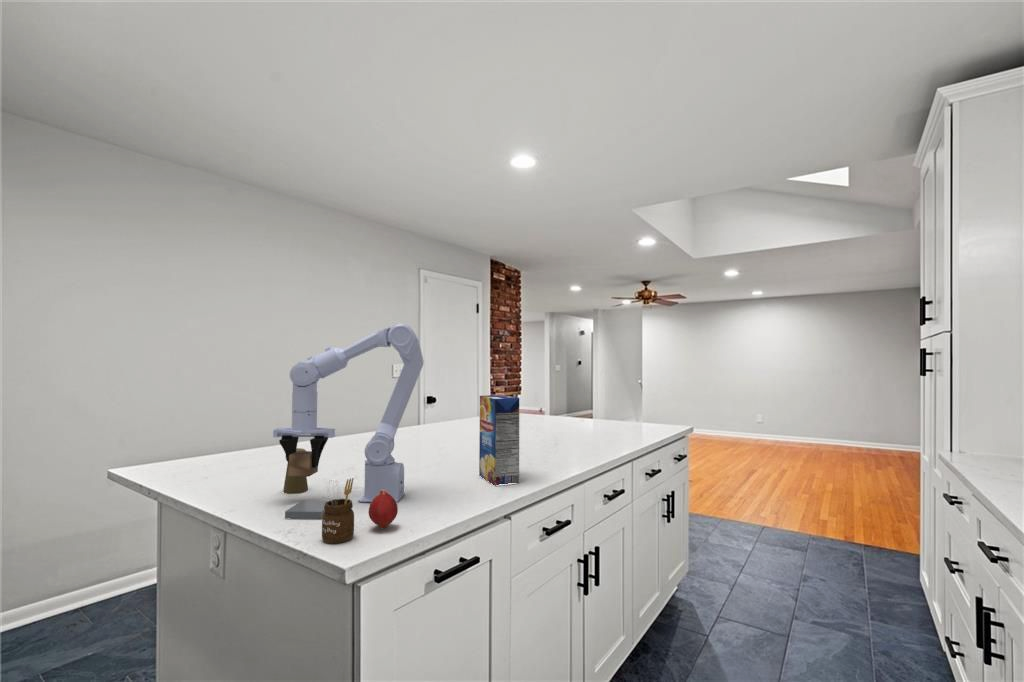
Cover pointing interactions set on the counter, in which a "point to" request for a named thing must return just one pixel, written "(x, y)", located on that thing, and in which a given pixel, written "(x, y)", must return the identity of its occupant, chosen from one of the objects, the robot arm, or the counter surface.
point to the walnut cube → (301, 464)
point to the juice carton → (499, 439)
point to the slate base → (306, 510)
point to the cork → (295, 481)
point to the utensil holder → (338, 518)
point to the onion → (383, 509)
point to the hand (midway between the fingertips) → (303, 466)
